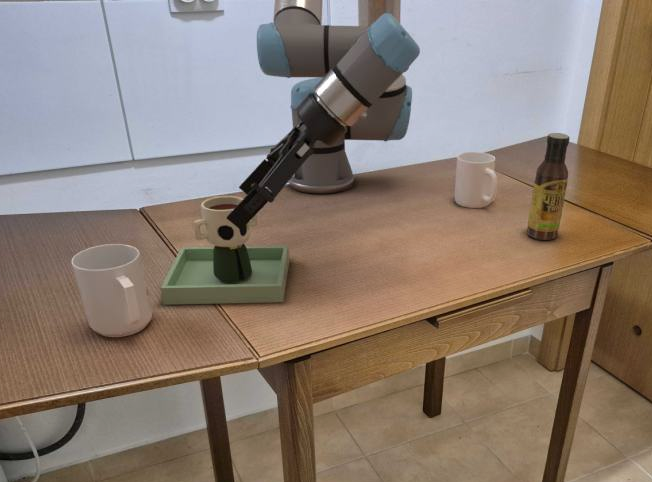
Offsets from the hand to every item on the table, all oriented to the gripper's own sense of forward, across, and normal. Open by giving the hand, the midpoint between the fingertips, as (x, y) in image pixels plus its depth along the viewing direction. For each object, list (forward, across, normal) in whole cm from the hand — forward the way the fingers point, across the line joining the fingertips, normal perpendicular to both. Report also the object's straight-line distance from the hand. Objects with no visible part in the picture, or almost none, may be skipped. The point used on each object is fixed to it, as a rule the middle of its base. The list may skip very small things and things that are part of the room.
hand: (239, 207), depth 102 cm
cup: (-23, +36, -42) cm, 60 cm away
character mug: (+10, 0, -7) cm, 13 cm away
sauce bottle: (-30, +18, -49) cm, 60 cm away
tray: (+11, 0, -7) cm, 13 cm away
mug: (+20, -15, +2) cm, 26 cm away
